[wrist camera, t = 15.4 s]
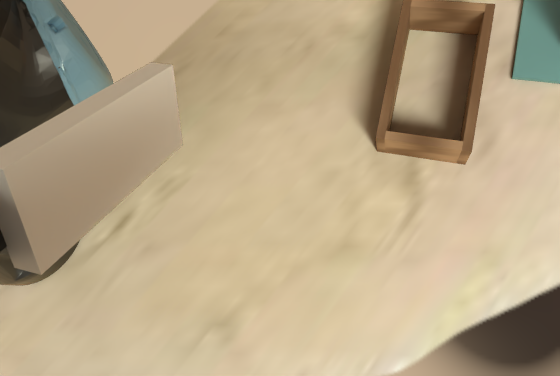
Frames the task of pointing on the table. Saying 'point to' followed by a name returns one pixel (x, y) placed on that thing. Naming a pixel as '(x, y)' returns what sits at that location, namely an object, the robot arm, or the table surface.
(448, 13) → the walnut sleeve
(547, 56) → the rubber mat
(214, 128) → the table surface
